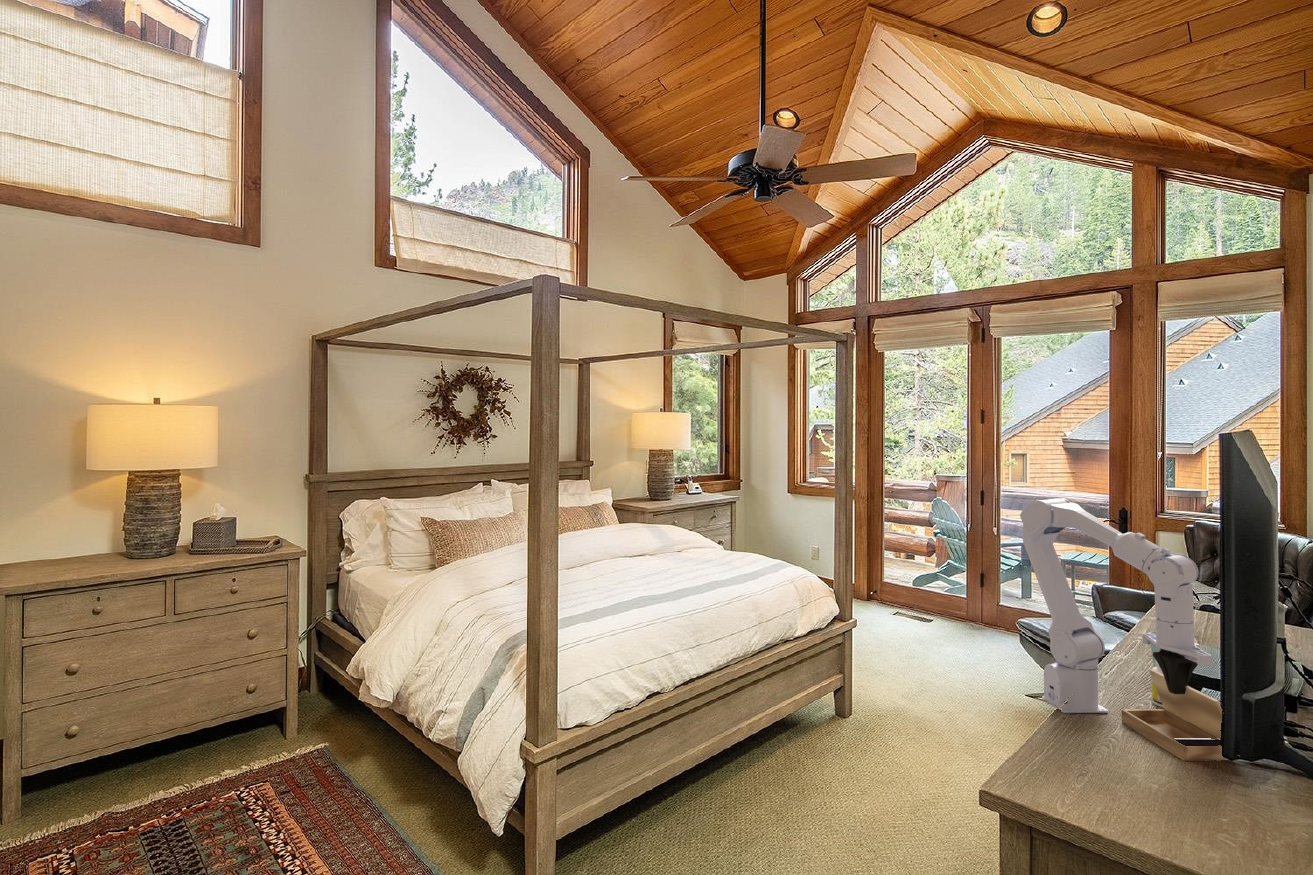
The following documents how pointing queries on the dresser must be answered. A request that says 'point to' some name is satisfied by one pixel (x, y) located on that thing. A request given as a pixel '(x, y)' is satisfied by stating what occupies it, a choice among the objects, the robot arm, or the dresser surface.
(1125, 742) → the dresser surface
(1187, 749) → the carton
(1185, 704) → the lid flap
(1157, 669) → the supplement bottle
